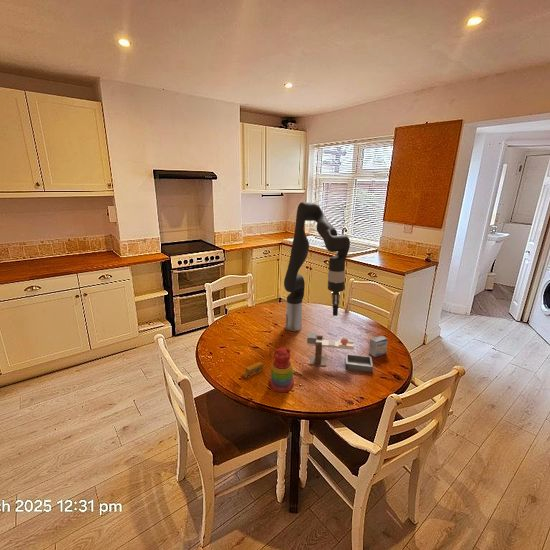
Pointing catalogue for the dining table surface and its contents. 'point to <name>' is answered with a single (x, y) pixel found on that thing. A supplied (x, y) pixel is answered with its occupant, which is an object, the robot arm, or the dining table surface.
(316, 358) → the fulcrum
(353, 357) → the tray
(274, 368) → the stacking bear
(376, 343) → the medicine box
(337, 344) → the tilt lever
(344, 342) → the ball
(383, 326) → the dining table surface
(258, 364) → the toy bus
